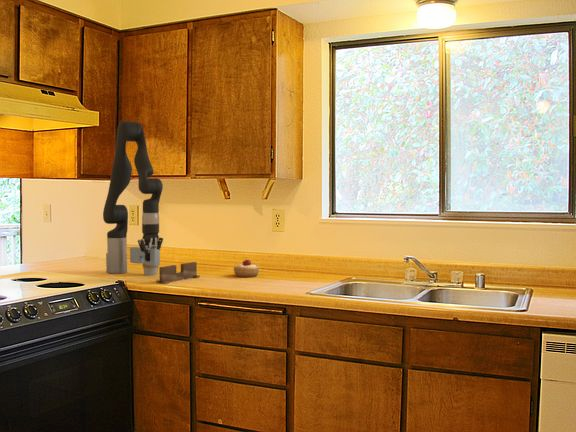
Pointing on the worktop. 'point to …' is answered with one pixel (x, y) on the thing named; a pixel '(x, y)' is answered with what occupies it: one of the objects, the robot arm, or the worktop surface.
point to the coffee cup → (150, 268)
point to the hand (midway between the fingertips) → (150, 260)
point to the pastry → (246, 269)
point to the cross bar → (138, 256)
